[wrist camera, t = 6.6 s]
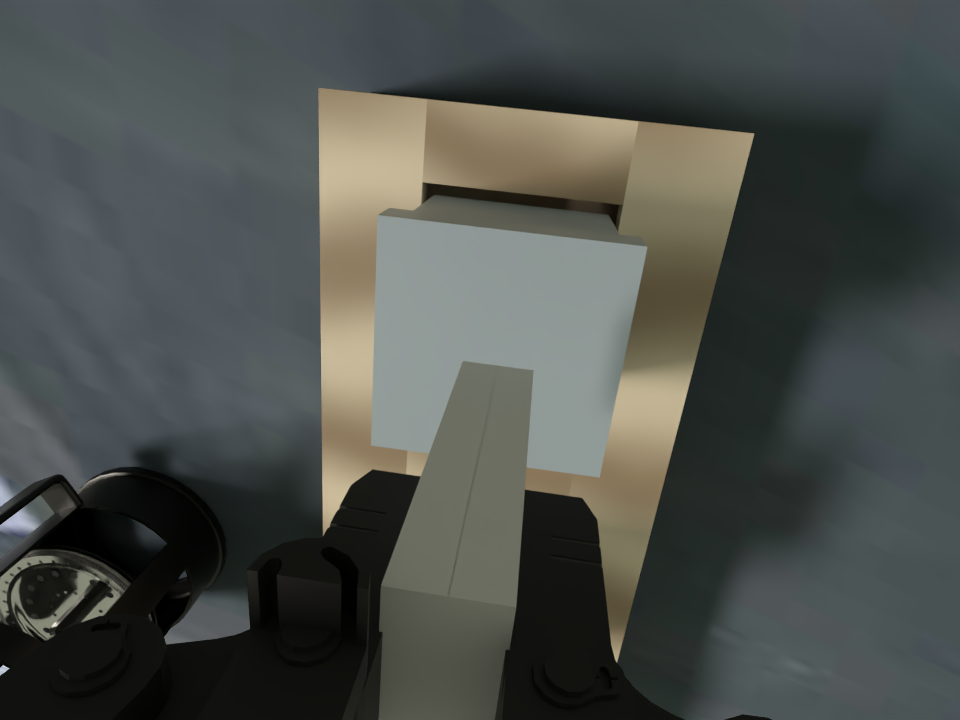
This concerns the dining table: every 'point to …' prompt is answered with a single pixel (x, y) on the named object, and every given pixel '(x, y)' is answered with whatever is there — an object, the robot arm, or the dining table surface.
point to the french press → (103, 558)
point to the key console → (542, 183)
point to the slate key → (503, 319)
